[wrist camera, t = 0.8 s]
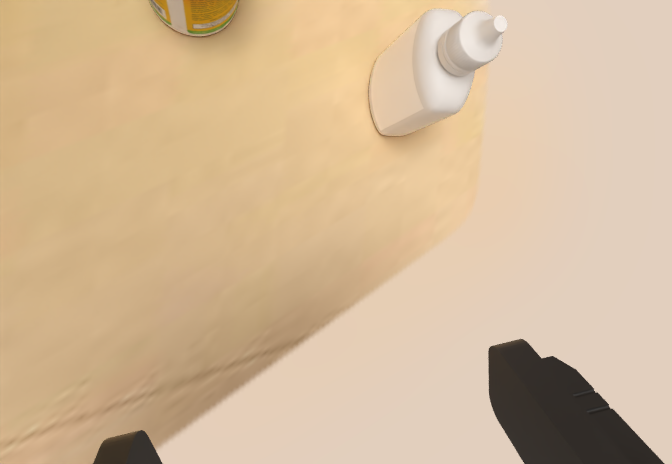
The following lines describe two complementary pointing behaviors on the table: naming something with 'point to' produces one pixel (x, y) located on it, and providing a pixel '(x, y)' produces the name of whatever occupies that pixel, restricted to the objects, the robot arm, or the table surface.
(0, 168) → the table surface
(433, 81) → the eye dropper bottle
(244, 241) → the table surface
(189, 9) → the supplement bottle
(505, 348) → the robot arm
